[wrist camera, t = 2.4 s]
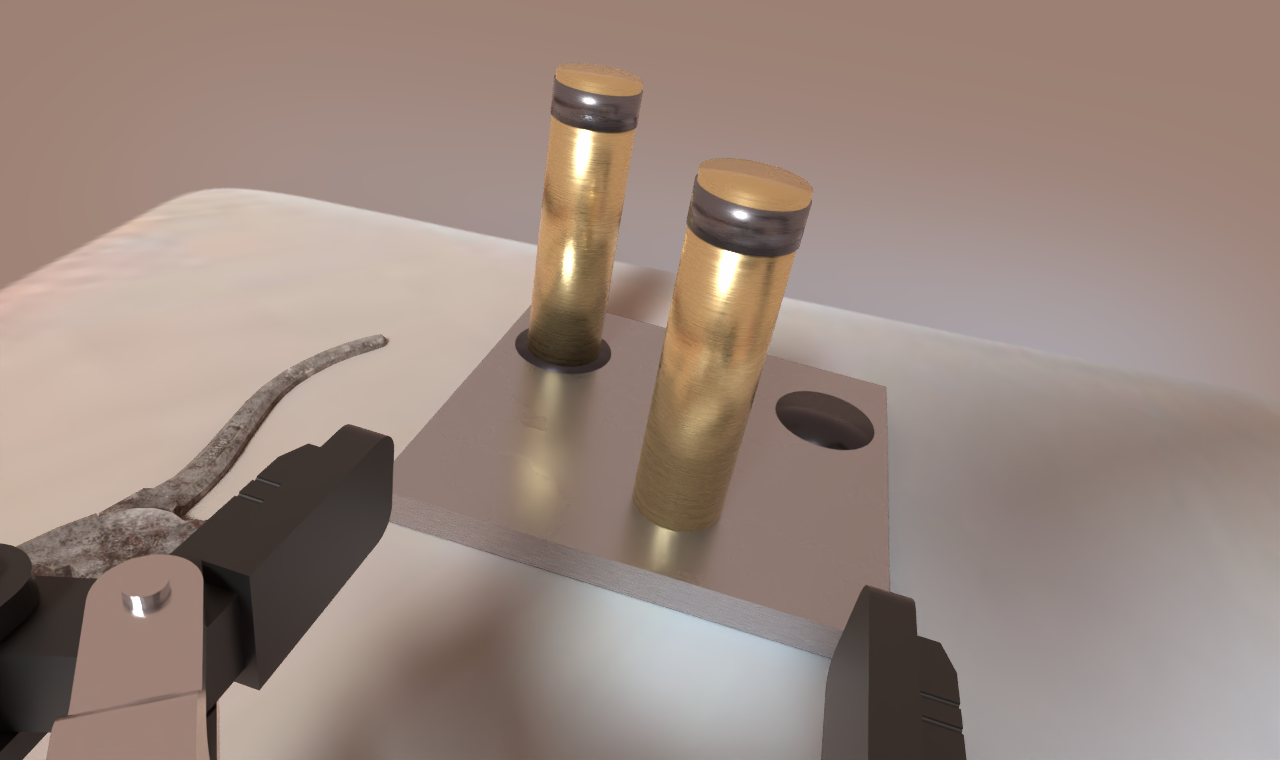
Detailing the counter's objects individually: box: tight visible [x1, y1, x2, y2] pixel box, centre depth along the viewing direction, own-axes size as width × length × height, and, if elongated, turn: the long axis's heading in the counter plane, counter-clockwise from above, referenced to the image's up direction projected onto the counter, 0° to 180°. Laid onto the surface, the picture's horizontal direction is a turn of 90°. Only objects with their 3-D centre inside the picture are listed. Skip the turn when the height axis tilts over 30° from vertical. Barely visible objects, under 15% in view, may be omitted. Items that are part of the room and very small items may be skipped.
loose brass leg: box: [632, 158, 813, 532], centre depth 24 cm, size 3×3×11 cm
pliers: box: [16, 334, 386, 578], centre depth 26 cm, size 10×1×20 cm
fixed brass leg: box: [527, 63, 643, 367], centre depth 32 cm, size 3×3×11 cm
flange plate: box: [389, 304, 890, 658], centre depth 31 cm, size 16×15×1 cm
